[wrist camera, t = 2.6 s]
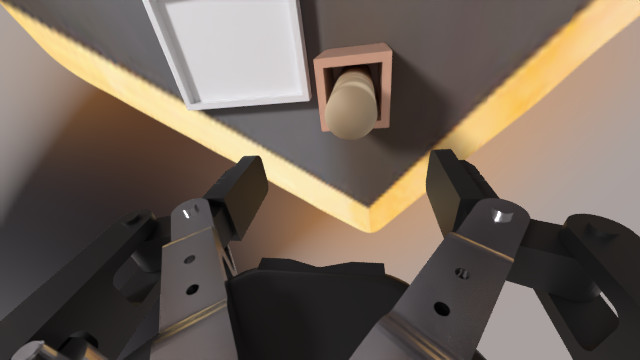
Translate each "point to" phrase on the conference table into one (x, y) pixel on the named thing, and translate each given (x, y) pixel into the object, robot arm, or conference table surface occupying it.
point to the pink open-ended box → (371, 55)
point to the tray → (233, 50)
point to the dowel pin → (352, 103)
